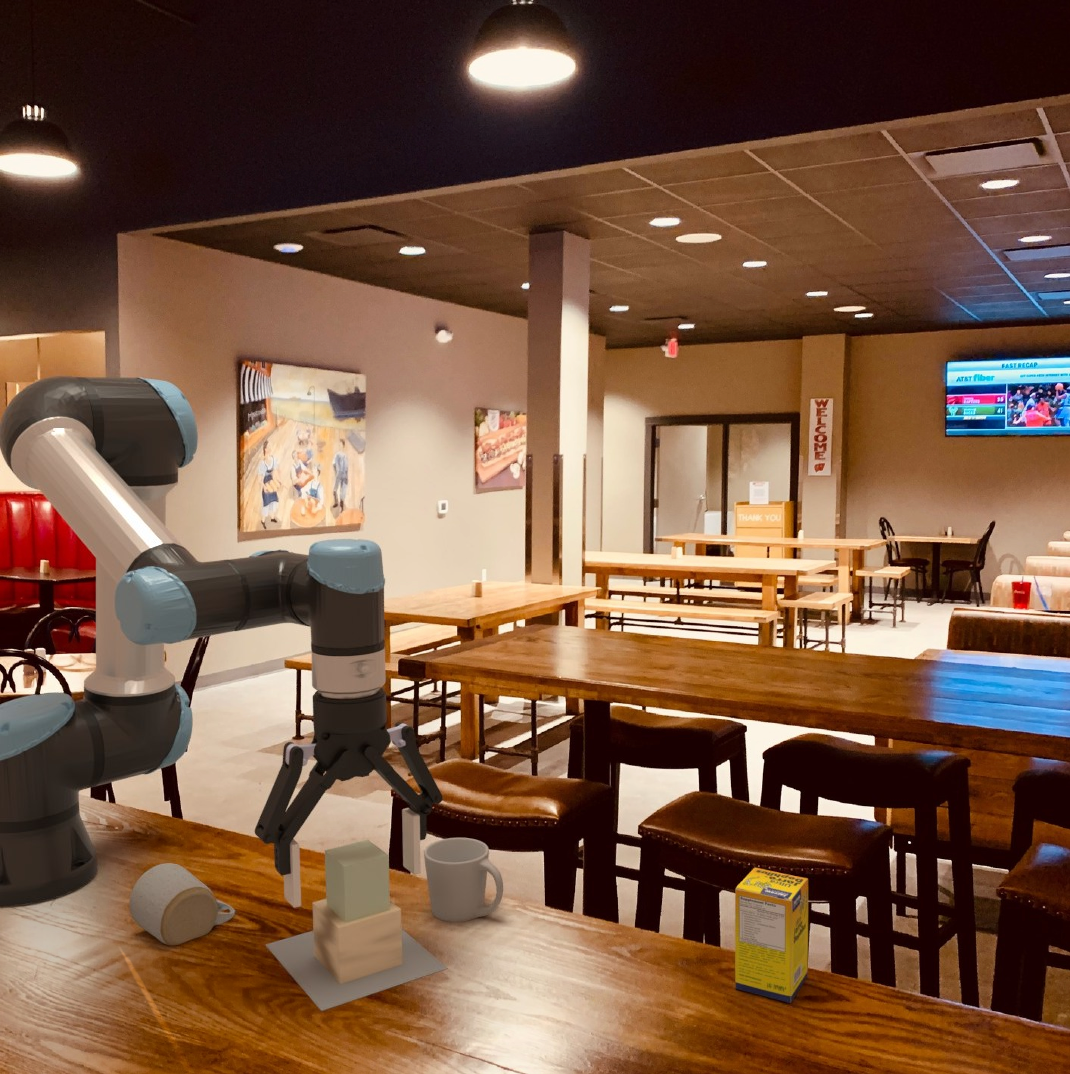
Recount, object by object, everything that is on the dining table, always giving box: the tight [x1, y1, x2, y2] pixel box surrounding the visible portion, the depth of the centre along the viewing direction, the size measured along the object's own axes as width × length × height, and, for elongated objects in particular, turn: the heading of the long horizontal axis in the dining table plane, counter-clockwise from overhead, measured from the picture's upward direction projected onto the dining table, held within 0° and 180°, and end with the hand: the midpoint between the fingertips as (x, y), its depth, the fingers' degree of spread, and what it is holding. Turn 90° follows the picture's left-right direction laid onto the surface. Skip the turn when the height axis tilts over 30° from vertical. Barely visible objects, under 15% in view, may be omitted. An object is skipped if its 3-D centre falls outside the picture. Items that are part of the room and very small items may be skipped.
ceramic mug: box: [128, 862, 236, 946], centre depth 120 cm, size 11×8×8 cm
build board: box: [265, 927, 449, 1012], centre depth 112 cm, size 16×14×1 cm
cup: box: [423, 837, 504, 923], centre depth 122 cm, size 8×10×8 cm
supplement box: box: [734, 867, 809, 1004], centre depth 107 cm, size 6×6×11 cm
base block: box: [312, 898, 403, 984], centre depth 111 cm, size 7×7×6 cm
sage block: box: [324, 839, 391, 923], centre depth 110 cm, size 5×5×6 cm
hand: (354, 885), depth 111 cm, fingers open, 13 cm apart
